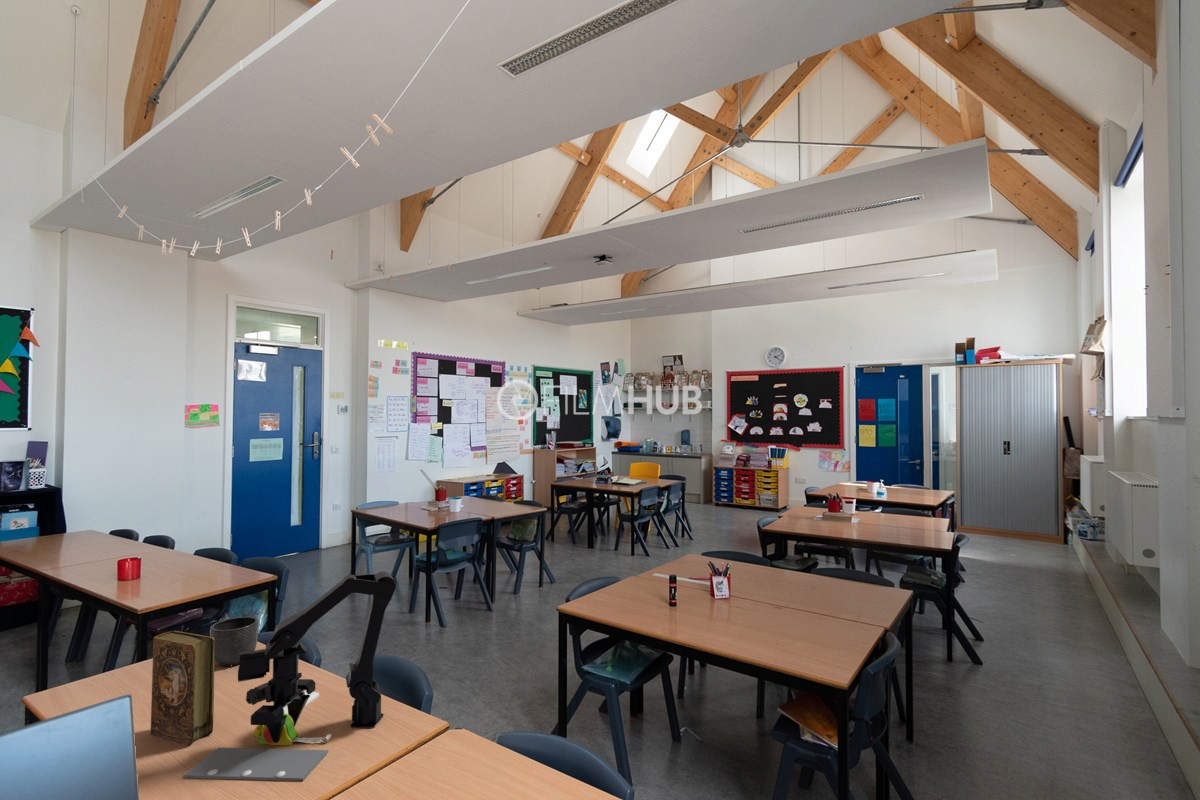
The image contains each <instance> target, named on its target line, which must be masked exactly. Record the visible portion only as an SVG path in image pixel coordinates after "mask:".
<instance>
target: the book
mask: <svg viewBox="0 0 1200 800" xmlns="http://www.w3.org/2000/svg"><path fill="white" fill-rule="evenodd" d="M152 641H153V642H152V673H151V674H152V675H151V701H150V702H151V703H150V704H151V707H150V708H151V711H150V737H154V738H158V739H162V740H166V741H170V742H173V743H178V744H181V745H186V746H192V745H193V743H194V742H195V741H197V740H199V739H200V738H201V739H202V738H203V737H207V736H209V735H212V734H213V731H214V710H215V709H214V707H215V706H214V705H215V702H214V699H215V694H214V693H215V662H216V661H215V639H214V638H213V637H210V636H208V635H203V634H196V633H190V632H186V631H185V632H184V631H178V630H171V631H165V632H162V633H160V634H157V635H155V636H153V640H152Z"/></svg>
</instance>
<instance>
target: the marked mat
mask: <svg viewBox="0 0 1200 800" xmlns="http://www.w3.org/2000/svg"><path fill="white" fill-rule="evenodd" d="M328 752H329V750H328V749H298V748H297V749H295V748H293V749H291V748H257V747H256V748H253V747H252V748H251V747H248V748H247V747H217V748H215V750H213V751H212V752H211V753H209V754H208V755H207V756H206V757H204V758H203V759H202V760H201V761H200V762H198V763H197V764H196V765H195V766H193V767H192V768H191V769H190V770H188V771H187V772H186V773H184V774H183V778H184V777H190V778H189V779H209V780H211V779H216V780H217V779H218V780H245V781H246V780H248V781H249V780H251V781H256V780H257V781H282V780H291V781H293V782H295V781H296V782H299V781H298V780H304V781H305V780H306V779H307V777H308V776H309V775H310V774H311V773H312V772H313V771H314V769H316V767H317V766H318V765H319V764H320V763H321V762H322V761H323V760H324V758H325V757H326V756H327V755H328V754H329V753H328ZM327 753H328V754H327ZM321 760H322V761H321ZM311 771H312V772H311ZM310 772H311V773H310ZM291 781H290V782H291Z"/></svg>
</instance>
